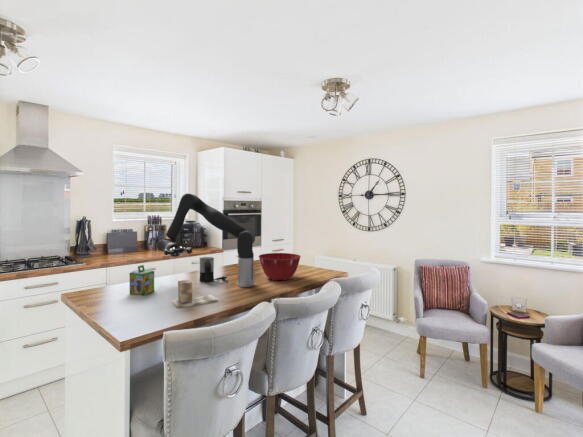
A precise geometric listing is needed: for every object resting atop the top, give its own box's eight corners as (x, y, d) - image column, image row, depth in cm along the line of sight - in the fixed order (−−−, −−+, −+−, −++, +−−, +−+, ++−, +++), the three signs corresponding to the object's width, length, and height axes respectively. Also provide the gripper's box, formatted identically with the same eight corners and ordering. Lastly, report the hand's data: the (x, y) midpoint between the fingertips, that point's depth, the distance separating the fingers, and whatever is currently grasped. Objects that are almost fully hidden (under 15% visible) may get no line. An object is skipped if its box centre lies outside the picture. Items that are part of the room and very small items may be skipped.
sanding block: (188, 299, 154) (188, 279, 154) (192, 302, 150) (192, 282, 149) (178, 301, 152) (177, 281, 151) (181, 304, 147) (181, 283, 146)
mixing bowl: (249, 277, 209) (250, 254, 208) (281, 271, 228) (282, 251, 227) (276, 286, 188) (277, 260, 187) (308, 279, 207) (309, 256, 207)
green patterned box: (143, 295, 162) (144, 268, 162) (128, 294, 164) (128, 266, 163) (155, 291, 171) (155, 264, 171) (140, 289, 173) (140, 263, 172)
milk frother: (196, 280, 197) (196, 257, 196) (219, 277, 207) (219, 255, 206) (206, 285, 186) (206, 260, 185) (229, 281, 196) (229, 258, 196)
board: (211, 296, 163) (211, 294, 163) (217, 301, 156) (218, 299, 156) (172, 303, 151) (172, 300, 151) (177, 308, 144) (177, 306, 144)
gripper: (160, 243, 171) (167, 246, 158) (185, 241, 180) (195, 244, 167) (160, 257, 172) (168, 261, 159) (186, 254, 180) (195, 258, 167)
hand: (181, 252), depth 163 cm, fingers open, 8 cm apart
